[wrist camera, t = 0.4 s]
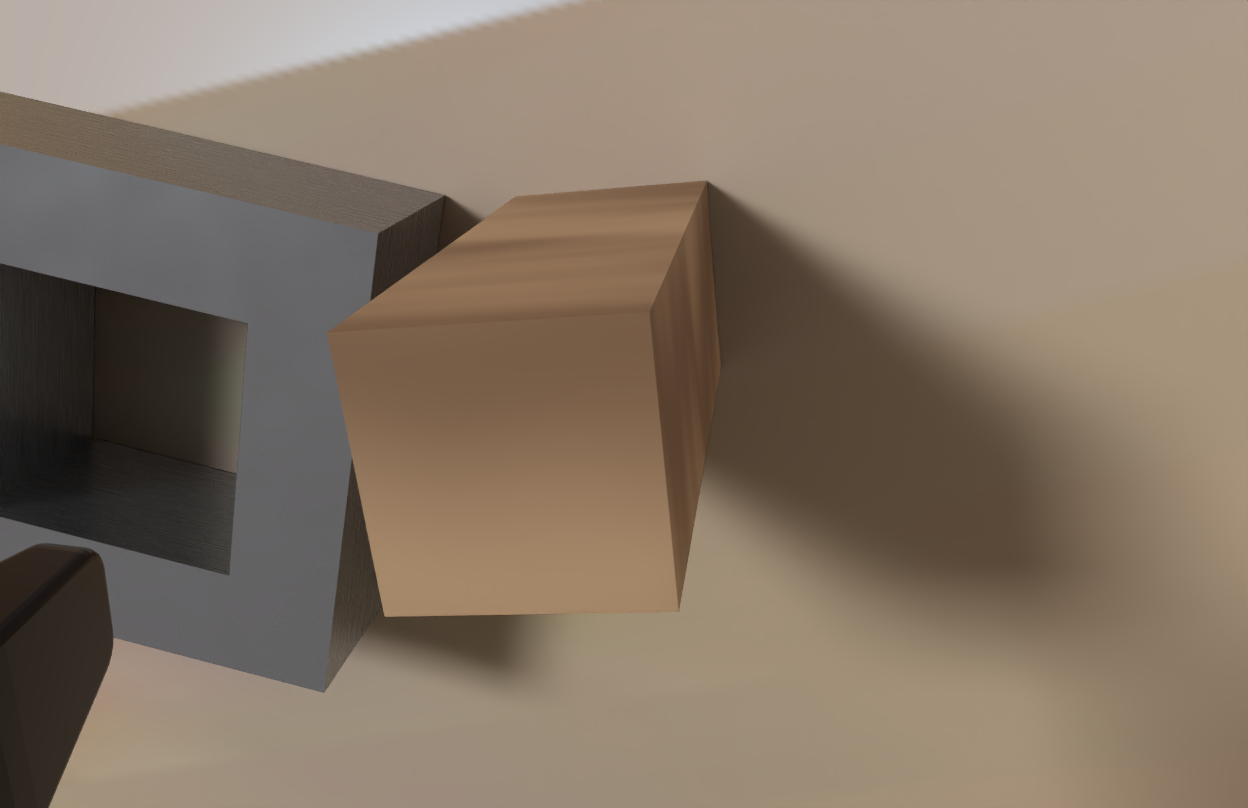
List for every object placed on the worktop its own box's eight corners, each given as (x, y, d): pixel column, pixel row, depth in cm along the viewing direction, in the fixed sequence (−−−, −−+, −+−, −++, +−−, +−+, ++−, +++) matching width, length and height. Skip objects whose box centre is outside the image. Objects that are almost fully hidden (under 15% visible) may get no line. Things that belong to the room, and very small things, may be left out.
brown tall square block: (721, 367, 23) (678, 611, 14) (540, 377, 24) (383, 616, 15) (706, 180, 22) (649, 312, 13) (515, 196, 22) (327, 332, 13)
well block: (389, 595, 26) (323, 692, 23) (6, 497, 27) (-119, 576, 23) (444, 195, 23) (377, 233, 19) (-1, 91, 23) (-150, 108, 20)
